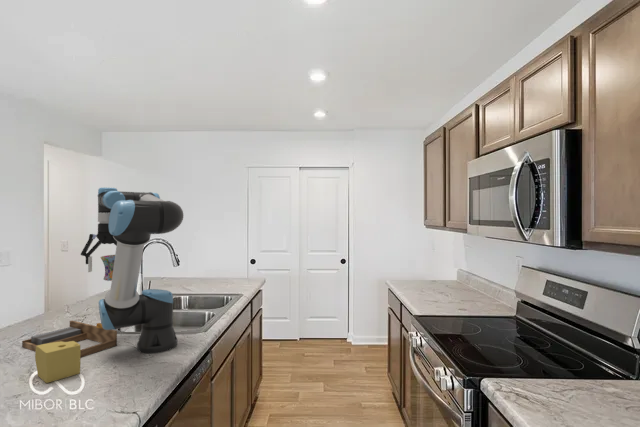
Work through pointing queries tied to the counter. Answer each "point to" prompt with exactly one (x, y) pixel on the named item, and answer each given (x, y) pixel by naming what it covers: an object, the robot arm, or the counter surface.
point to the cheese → (57, 360)
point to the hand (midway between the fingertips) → (107, 271)
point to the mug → (108, 266)
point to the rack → (76, 337)
